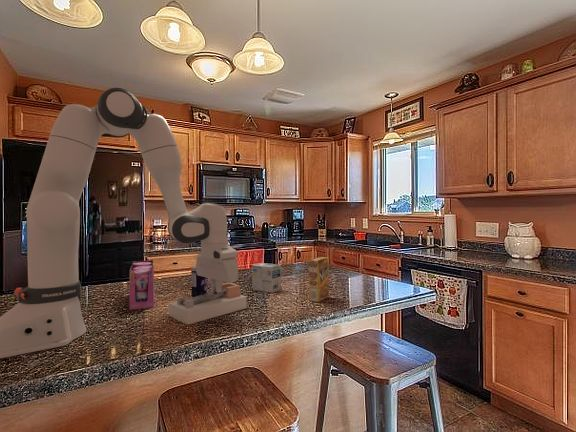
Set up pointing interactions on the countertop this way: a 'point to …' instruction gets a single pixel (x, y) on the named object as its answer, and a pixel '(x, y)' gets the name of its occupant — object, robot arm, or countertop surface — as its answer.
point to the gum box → (142, 284)
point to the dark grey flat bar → (205, 296)
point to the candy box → (318, 279)
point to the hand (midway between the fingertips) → (216, 291)
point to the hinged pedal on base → (208, 306)
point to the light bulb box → (266, 277)
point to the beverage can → (198, 283)
